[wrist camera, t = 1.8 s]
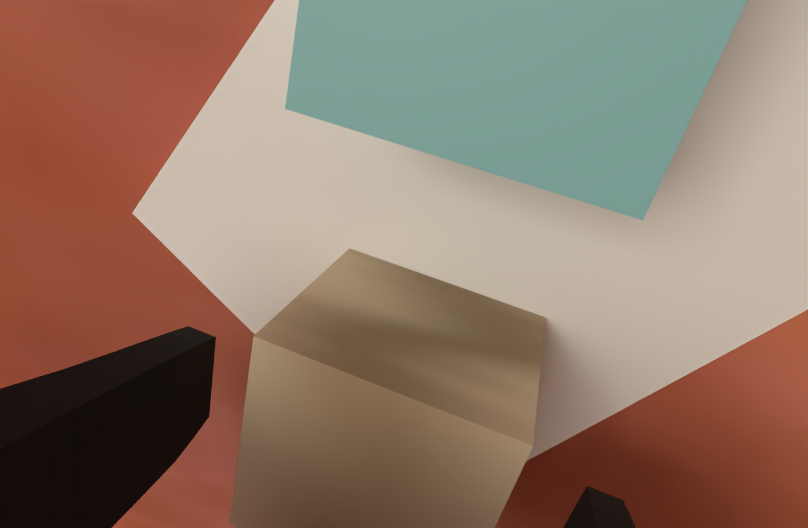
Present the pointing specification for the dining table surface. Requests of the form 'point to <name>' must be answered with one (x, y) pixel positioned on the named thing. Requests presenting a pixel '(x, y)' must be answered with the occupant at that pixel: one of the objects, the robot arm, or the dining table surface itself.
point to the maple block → (386, 404)
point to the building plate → (515, 220)
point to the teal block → (518, 84)
